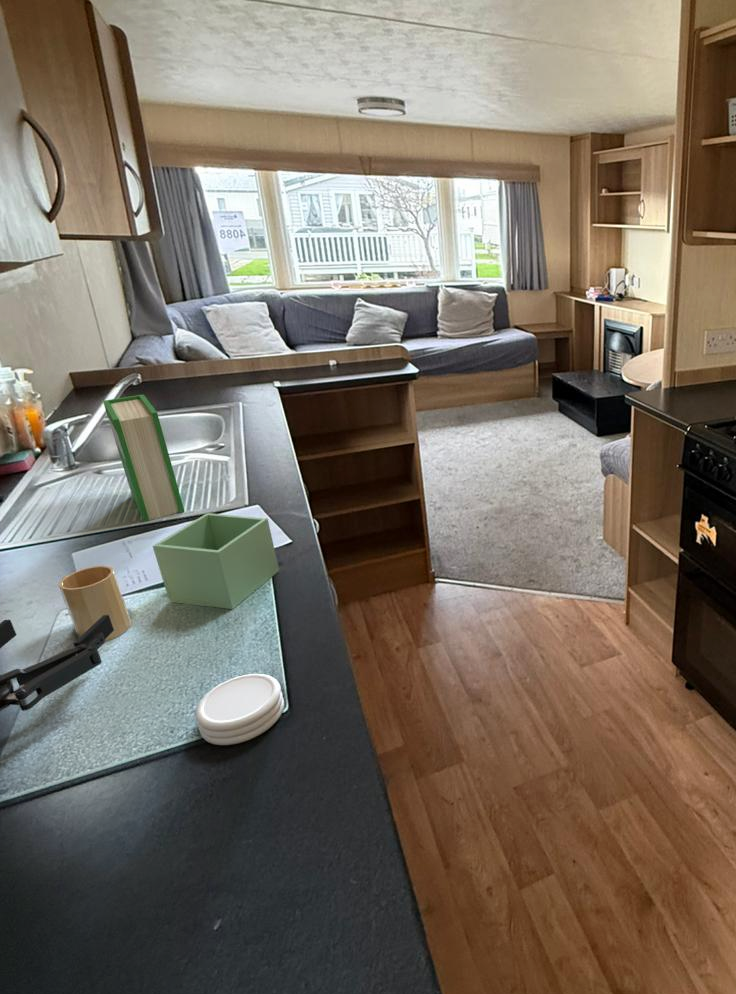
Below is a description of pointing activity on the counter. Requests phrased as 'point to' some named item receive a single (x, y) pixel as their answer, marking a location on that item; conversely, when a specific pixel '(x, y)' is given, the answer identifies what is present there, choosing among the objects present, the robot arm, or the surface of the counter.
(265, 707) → the coaster
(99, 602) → the tan hollow cylinder
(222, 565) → the bin
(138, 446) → the hardback book
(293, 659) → the counter surface
